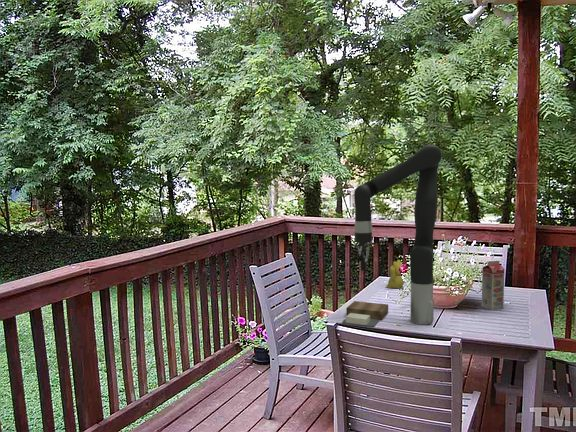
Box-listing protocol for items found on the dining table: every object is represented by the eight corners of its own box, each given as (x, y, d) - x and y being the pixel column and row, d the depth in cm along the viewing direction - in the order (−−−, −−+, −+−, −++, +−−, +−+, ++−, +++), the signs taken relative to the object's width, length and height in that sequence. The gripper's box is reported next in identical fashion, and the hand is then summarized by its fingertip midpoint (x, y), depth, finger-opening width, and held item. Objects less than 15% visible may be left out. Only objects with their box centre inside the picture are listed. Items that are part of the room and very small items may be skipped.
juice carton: (481, 306, 233) (482, 260, 231) (493, 304, 235) (494, 259, 233) (491, 310, 227) (492, 263, 224) (503, 308, 229) (504, 261, 227)
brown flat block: (388, 313, 225) (388, 304, 225) (381, 320, 214) (381, 311, 214) (354, 309, 232) (354, 301, 231) (346, 316, 221) (346, 307, 220)
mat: (379, 320, 214) (379, 319, 214) (373, 327, 206) (373, 326, 206) (348, 317, 220) (348, 315, 220) (341, 323, 211) (341, 322, 211)
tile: (366, 319, 207) (366, 325, 207) (370, 315, 212) (370, 321, 212) (345, 316, 211) (345, 322, 211) (350, 312, 216) (350, 318, 216)
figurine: (392, 284, 279) (392, 258, 277) (407, 286, 273) (407, 259, 272) (383, 288, 269) (384, 261, 268) (399, 290, 264) (399, 263, 263)
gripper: (367, 233, 206) (368, 274, 208) (375, 229, 218) (376, 268, 220) (350, 232, 209) (351, 273, 211) (359, 228, 221) (359, 267, 223)
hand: (363, 270), depth 215 cm, fingers closed
